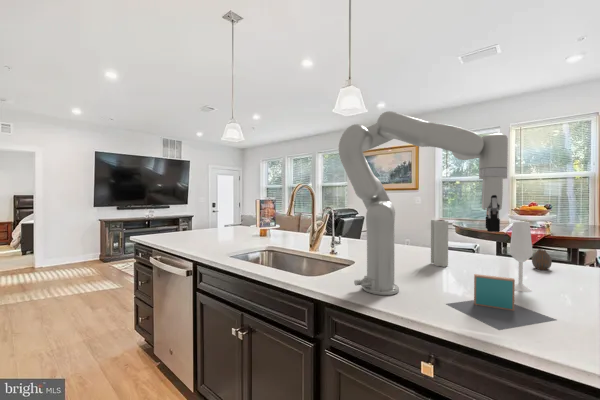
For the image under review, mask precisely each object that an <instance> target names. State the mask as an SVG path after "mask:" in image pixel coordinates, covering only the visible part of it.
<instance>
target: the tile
mask: <svg viewBox="0 0 600 400" xmlns="http://www.w3.org/2000/svg"><path fill="white" fill-rule="evenodd" d="M473 275H474V276H473V281H474V282H473V300H474V305H480V306H486V307H493V308H499V309H506V310H512V311H514V304H515V294H516V293H515V292H516V290H515V284H516V282H515V281H516V280H515V278H512V277H505V276H497V275H495V276H494V275H487V274H486V275H485V274H477V273H475V274H473Z"/></svg>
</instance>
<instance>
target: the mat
mask: <svg viewBox="0 0 600 400" xmlns="http://www.w3.org/2000/svg"><path fill="white" fill-rule="evenodd" d="M445 305H447V306H448V307H451V308H452V309H455V310H457V311H459V312H461V313H463V314H465V315H467V316H469V317H471V318H473V319H475V320H478V321H479V322H482V323H484V324H485V325H488V326H490V327H491V328H495V329H496V330H498V331H501V330H502V331H503V330H507V329H513V328H520V327H525V326H531V325H537V324H543V323H548V322H553V321H554V322H555V321H557V319H556V318H553V317H551V316H547V315H545V314H543V313H539V312H536V311H535V310H532V309H530V308H529V309H528V308H526V307H524V306H522V305H519V304H516V303H514V311H512V310H506V309H499V308H493V307H486V306H480V305H474V299H472V300H465V301H464V300H463V301H458V302H451V303H450V302H449V303H445Z"/></svg>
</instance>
